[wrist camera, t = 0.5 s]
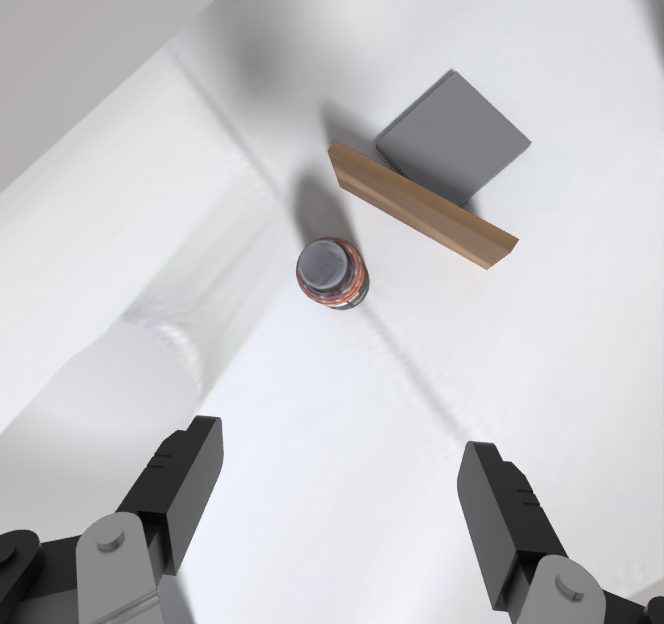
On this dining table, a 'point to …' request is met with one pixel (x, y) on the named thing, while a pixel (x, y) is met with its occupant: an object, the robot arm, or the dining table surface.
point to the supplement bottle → (332, 273)
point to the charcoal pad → (453, 142)
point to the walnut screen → (420, 207)
